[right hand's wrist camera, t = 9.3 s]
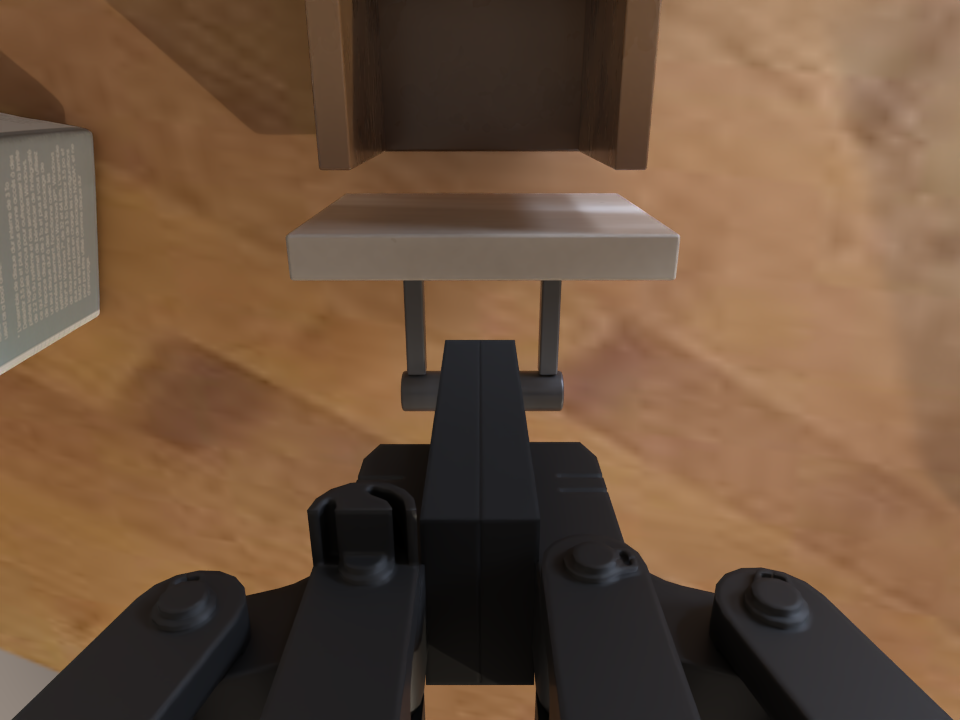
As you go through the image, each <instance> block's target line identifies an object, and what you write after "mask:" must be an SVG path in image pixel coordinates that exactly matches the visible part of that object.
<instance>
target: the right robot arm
mask: <svg viewBox="0 0 960 720" xmlns="http://www.w3.org/2000/svg"><path fill="white" fill-rule="evenodd" d="M307 513H308V522H309V531H310V540H311V549H312V557H313V569H312V572H311V575H310V576H309V577H307V578H305V579H303V580H301V581H299V582H297V583H295V584H291V585H288V586H285V587H282V588H278V589H274V590H270V591H265V592H261V593H256V594H252V595H248V596H246V594H245V588H244V586H243V585H242V584H241V583H240V582H239V581H238V580H237V578H236V577H234V576H231V575H229V574H226V573H223V572H221V571H195V572H190V573H185V574H181V575H176V576H174V577H172V578H170V579H167V580H165V581H163V582H161V583H158V584H156V585H154V586H153V587H152V588H150V589H149V590H148V591H146V592H145V593H143V594H142V595H141V596H139V597H138V598H137V599H136V600H135V601H134V602H133V603H132V604H131V605H129V606H128V607H127V608H126V609H125V610H124V611H123V612H122V613H121V614H120V615H119V616H118V617H117V618H116V619H115V620H114V621H113V622H112V623H111V624H110V625H109V626H108V627H107V628H106V629H105V630H104V631H103V632H102V633H101V634H100V635H99V636H98V637H96V638H95V639H94V640H93V641H92V642H91V643H90V644H89V645H88V646H87V647H86V648H85V649H84V650H83V651H82V652H81V653H80V654H79V655H78V656H77V657H76V658H75V659H74V660H73V661H72V662H71V663H70V664H69V665H68V666H67V667H66V668H65V669H63V670H62V671H61V672H60V673H59V674H58V675H57V676H56V677H55V678H54V679H53V680H52V681H51V682H50V683H49V684H48V685H47V686H46V687H45V688H44V689H43V690H42V691H41V692H40V693H39V694H38V695H37V696H36V697H35V698H34V699H33V700H31V701H30V702H29V703H28V704H27V705H26V706H25V707H24V708H23V709H22V710H21V711H20V712H19V713H18V714H17V715H16V716H15V717H14V718H13V719H12V720H425V704H424V686H425V675H426V685H534V672H535V683H536V704H535V720H953V719H952V718H951V717H950V716H949V715H948V714H947V713H946V712H945V711H944V710H942V709H941V708H940V707H939V706H938V705H937V704H936V703H935V702H934V701H933V700H932V699H931V698H930V697H929V696H928V695H927V694H926V693H925V692H924V691H923V690H922V689H921V688H920V687H919V686H918V685H916V684H915V683H914V682H913V681H912V680H911V679H910V678H909V677H908V676H907V675H906V674H905V673H904V672H903V671H902V670H901V669H900V668H899V667H898V666H897V665H896V664H895V663H894V662H893V661H892V660H891V659H889V658H888V657H887V656H886V655H885V654H884V653H883V652H882V651H881V650H880V649H879V648H878V647H877V646H876V645H875V644H874V643H873V642H872V641H871V640H870V639H869V638H868V637H867V636H866V635H865V634H863V633H862V632H861V631H860V630H859V629H858V628H857V627H856V626H855V625H854V624H853V623H852V622H851V621H850V620H849V619H848V618H847V617H846V616H845V615H844V614H843V613H842V612H841V611H840V610H839V609H837V608H836V607H835V606H834V605H833V604H832V603H831V602H830V601H829V600H828V599H827V598H826V597H825V596H824V595H823V594H821V593H820V592H819V591H817V590H816V589H814V588H813V587H812V586H810V585H809V584H808V583H806V582H804V581H802V580H800V579H798V578H795V577H793V576H791V575H789V574H786V573H784V572H779V571H775V570H770V569H765V568H740V569H738V570H735V571H732V572H729V573H727V574H725V575H724V576H723V577H722V578H721V579H720V581H719V582H718V583H717V584H716V588H715V593H712V592H707V591H703V590H698V589H694V588H689V587H685V586H681V585H678V584H674V583H671V582H668V581H665V580H663V579H661V578H659V577H657V576H655V575H653V574H651V573H649V571H648V568H647V565H646V564H645V562H644V561H643V559H642V558H641V556H640V555H639V553H638V552H637V551H635V550H634V549H632V548H631V547H630V546H628V545H627V544H625V543H624V540H623V537H622V534H621V531H620V528H619V525H618V522H617V519H616V516H615V513H614V509H613V506H612V503H611V500H610V497H609V494H608V492H607V488H606V485H605V482H604V479H603V478H602V473H601V469H600V466H599V463H598V460H597V457H596V456H595V455H594V454H593V453H591V452H590V451H589V450H588V449H587V448H586V447H585V446H584V445H582V444H581V443H580V442H529V437H528V430H527V423H526V416H525V409H524V402H523V395H522V388H521V381H520V374H519V367H518V360H517V353H516V346H515V340H445V346H444V353H443V360H442V367H441V374H440V381H439V388H438V395H437V402H436V409H435V416H434V423H433V430H432V437H431V443H430V444H380V445H379V446H378V447H377V448H376V449H374V450H373V451H372V452H371V453H370V454H369V455H368V456H367V457H366V458H364V460H363V463H362V466H361V469H360V472H359V475H358V480H357V482H356V483H349V484H346V485H343V486H340V487H337V488H333V489H331V490H329V491H328V492H326V493H324V494H323V495H321V496H320V497H318V498H316V500H315V501H314V502H313V503H312V505H311V506H310V507H309V509H308V510H307Z"/></svg>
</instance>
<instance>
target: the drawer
mask: <svg viewBox="0 0 960 720" xmlns="http://www.w3.org/2000/svg"><path fill="white" fill-rule="evenodd" d="M661 1H662V0H305V8H306V20H307V31H308V43H309V55H310V66H311V78H312V90H313V101H314V113H315V124H316V136H317V148H318V159H319V168H320V169H321V170H350V169H352V168H354V167H356V166H358V165H360V164H362V163H364V162H365V161H367V160H369V159H371V158H373V157H375V156H377V155H379V154H381V153H382V152H384V151H580V152H582V153H584V154H586V155H588V156H590V157H592V158H594V159H595V160H597V161H599V162H601V163H603V164H605V165H607V166H609V167H611V168H613V169H615V170H646V168H647V160H648V149H649V137H650V126H651V114H652V103H653V92H654V80H655V69H656V58H657V46H658V35H659V23H660V12H661ZM679 243H680V235H679V234H677V233H676V232H674V231H673V230H671V229H670V228H668V227H667V226H665V225H664V224H662V223H661V222H659V221H658V220H656V219H655V218H653V217H652V216H650V215H649V214H647V213H646V212H644V211H643V210H641V209H640V208H639V207H637V206H636V205H634V204H633V203H631V202H630V201H628V200H627V199H625V198H624V197H622V196H621V195H619V194H617V193H434V194H345V195H344V196H342V197H341V198H339V199H338V200H336V201H335V202H334V203H332V204H331V205H329V206H328V207H326V208H325V209H323V210H322V211H321V212H319V213H318V214H316V215H315V216H313V217H312V218H311V219H309V220H308V221H306V222H305V223H303V224H302V225H300V226H299V227H298V228H296V229H295V230H293V231H292V232H290V233H289V234H288V235H286V245H287V254H288V264H289V273H290V278H291V280H294V281H361V280H403V286H404V308H405V331H406V354H407V371H404V372H403V374H402V379H401V404H402V409H403V410H404V411H435V409H436V402H437V395H438V388H439V381H440V374H441V371H426V369H427V361H426V330H425V299H424V280H541V288H540V318H539V347H538V371H519V374H520V381H521V388H522V395H523V402H524V409H525V411H561V410H562V408H563V401H564V382H563V375H562V372H561V371H557V369H558V347H559V325H560V302H561V280H674V279H675V278H676V271H677V262H678V252H679Z"/></svg>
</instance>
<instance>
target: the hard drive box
mask: <svg viewBox="0 0 960 720" xmlns="http://www.w3.org/2000/svg"><path fill="white" fill-rule="evenodd" d="M99 313H100V294H99V268H98V237H97V212H96V185H95V167H94V149H93V135H92V133H91V132H90V131H89V130H87V129H85V128H81V127H77V126H71V125H66V124H60V123H55V122H49V121H43V120H37V119H30V118H24V117H19V116H15V115H10V114H5V113H0V375H1V374H3V373H5V372H6V371H8V370H10V369H11V368H13V367H15V366H16V365H18V364H19V363H21V362H23V361H24V360H26V359H28V358H29V357H31V356H33V355H34V354H36V353H38V352H39V351H41V350H43V349H44V348H46V347H48V346H49V345H51V344H53V343H54V342H56V341H58V340H59V339H61V338H63V337H64V336H66V335H67V334H69V333H70V332H72V331H74V330H75V329H77V328H79V327H80V326H82V325H84V324H86V323H87V322H89V321H91V320H92V319H94V318H96V317H97V316H98V315H99Z"/></svg>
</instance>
